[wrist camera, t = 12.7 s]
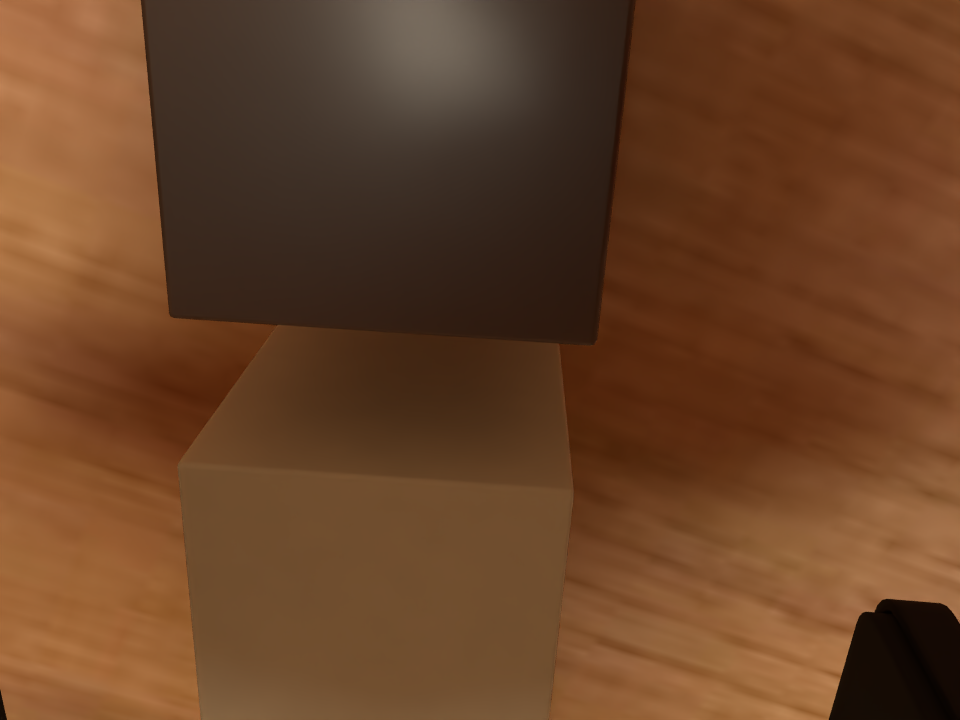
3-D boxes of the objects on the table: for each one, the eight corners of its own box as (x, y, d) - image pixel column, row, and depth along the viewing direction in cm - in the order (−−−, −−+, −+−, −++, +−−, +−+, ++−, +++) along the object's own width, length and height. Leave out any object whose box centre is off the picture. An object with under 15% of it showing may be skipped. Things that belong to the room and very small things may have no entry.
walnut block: (263, -122, 12) (122, -177, 8) (606, -102, 12) (653, -147, 7) (277, 215, 13) (166, 319, 9) (574, 234, 13) (596, 349, 9)
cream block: (276, 322, 14) (174, 463, 10) (559, 341, 14) (575, 491, 10) (286, 557, 16) (202, 759, 12) (537, 575, 16) (542, 786, 12)
